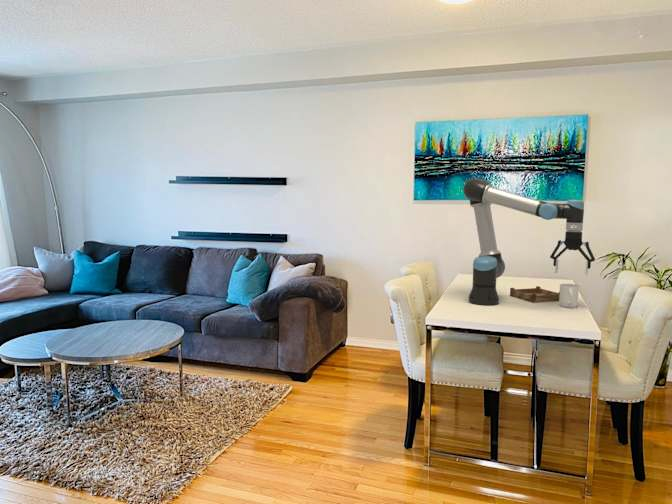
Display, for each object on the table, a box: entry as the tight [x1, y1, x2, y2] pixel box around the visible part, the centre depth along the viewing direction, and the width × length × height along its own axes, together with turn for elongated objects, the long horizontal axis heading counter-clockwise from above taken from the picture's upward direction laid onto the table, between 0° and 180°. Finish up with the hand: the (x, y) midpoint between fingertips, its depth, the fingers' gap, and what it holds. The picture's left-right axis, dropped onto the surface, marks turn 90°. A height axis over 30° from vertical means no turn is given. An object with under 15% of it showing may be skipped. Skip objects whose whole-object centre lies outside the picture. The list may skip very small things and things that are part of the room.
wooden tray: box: [509, 285, 560, 304], centre depth 280 cm, size 19×19×4 cm
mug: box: [558, 283, 580, 309], centre depth 258 cm, size 9×12×11 cm
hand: (571, 274), depth 257 cm, fingers open, 13 cm apart
